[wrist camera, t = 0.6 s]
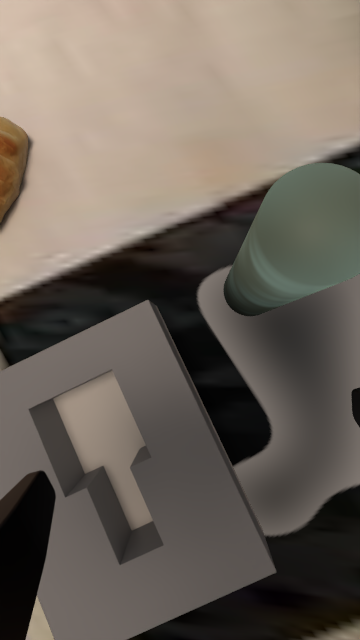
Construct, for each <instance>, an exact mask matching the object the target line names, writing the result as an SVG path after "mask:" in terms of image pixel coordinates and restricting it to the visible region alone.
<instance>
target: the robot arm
mask: <svg viewBox="0 0 360 640" xmlns="http://www.w3.org/2000/svg"><path fill="white" fill-rule="evenodd" d="M352 411H353V416H354V419H355V421H356V422H357V424H358V425H359V427H360V388H357V389H354V390H353V391H352ZM55 501H56V493H55V490H54V488H53V486H52V484H51V482H50V480H49V478H48V476H47V474H46V473H45V472H44V471H43V470H39V471H35V472H31V473H28V474H27V475H26V476H25V477H24V478H22V479H21V480H20V481H19V482H18V483H17V484H16V485H15V486H14V487H13V488H12V489H11V490H10V491H9V492H8V493H7V494H6V495H5V496H4V497H3V498H2V499H1V500H0V640H25V639H26V635H27V631H28V627H29V623H30V619H31V615H32V612H33V608H34V604H35V600H36V596H37V592H38V588H39V584H40V580H41V576H42V573H43V568H44V564H45V560H46V555H47V549H48V543H49V537H50V531H51V525H52V519H53V513H54V507H55Z"/></svg>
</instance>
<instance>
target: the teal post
mask: <svg viewBox="0 0 360 640" xmlns="http://www.w3.org/2000/svg"><path fill="white" fill-rule="evenodd" d="M358 274H360V174H358V173H357V172H355V171H353V170H351V169H349V168H346V167H344V166H341V165H336V164H330V163H315V164H308V165H304V166H301V167H298V168H296V169H294V170H292V171H290V172H288V173H286V174H285V175H284V176H282V177H281V178H280V179H279V180H278V181H277V182H276V183H275V184H274V185H273V186H272V187H271V188H270V190H269V191H268V193H267V194H266V196H265V198H264V200H263V202H262V204H261V206H260V209H259V211H258V213H257V215H256V217H255V219H254V221H253V223H252V226H251V228H250V230H249V232H248V234H247V236H246V238H245V240H244V243H243V245H242V247H241V249H240V251H239V253H238V255H237V257H236V259H235V262H234V264H233V266H232V268H231V270H230V272H229V274H228V277H227V279H226V281H225V284H224V296H225V299H226V302H227V303H228V305H229V306H230V308H231V309H232V310H234V311H235V312H237V313H239V314H241V315H244V316H255V315H259V314H262V313H265V312H267V311H269V310H272V309H275V308H277V307H280V306H282V305H285V304H287V303H290V302H292V301H295V300H298V299H300V298H302V297H305V296H308V295H310V294H313V293H315V292H318V291H320V290H323V289H326V288H328V287H331V286H333V285H336V284H338V283H341V282H343V281H346V280H348V279H351V278H353V277H355V276H356V275H358Z"/></svg>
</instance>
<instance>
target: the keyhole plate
mask: <svg viewBox="0 0 360 640" xmlns="http://www.w3.org/2000/svg"><path fill="white" fill-rule="evenodd" d="M39 470H43V471H44V472H45V473H46V474H47V476H48V478H49V480H50V482H51V484H52V486H53V488H54V490H55V493H56V501H55V507H54V513H53V519H52V525H51V531H50V537H49V543H48V549H47V555H46V560H45V564H44V568H43V573H42V576H41V580H40V584H39V588H38V592H37V596H38V599H39V601H40V604H41V606H42V609H43V611H44V614H45V616H46V619H47V622H48V624H49V627H50V629H51V632H52V634H53V637H54V639H55V640H127V639H129V638H131V637H133V636H136V635H138V634H140V633H142V632H144V631H147V630H149V629H151V628H153V627H156V626H158V625H160V624H162V623H165V622H167V621H169V620H171V619H173V618H176V617H178V616H180V615H182V614H185V613H187V612H189V611H191V610H193V609H196V608H198V607H200V606H202V605H205V604H207V603H209V602H211V601H213V600H216V599H218V598H220V597H222V596H225V595H227V594H229V593H231V592H233V591H236V590H238V589H240V588H242V587H245V586H247V585H249V584H251V583H253V582H256V581H258V580H260V579H262V578H265V577H267V576H269V575H271V574H274V573H276V569H275V566H274V563H273V560H272V557H271V554H270V551H269V548H268V545H267V542H266V539H265V536H264V533H263V530H262V528H261V525H260V523H259V521H258V519H257V517H256V515H255V513H254V511H253V509H252V506H251V504H250V503H249V500H248V498H247V496H246V494H245V492H244V489H243V487H242V485H241V483H240V481H239V479H238V477H237V475H236V473H235V470H234V468H233V466H232V464H231V462H230V460H229V458H228V456H227V454H226V451H225V449H224V447H223V445H222V443H221V441H220V439H219V437H218V435H217V432H216V430H215V428H214V426H213V424H212V422H211V420H210V418H209V416H208V413H207V411H206V409H205V407H204V405H203V403H202V401H201V399H200V396H199V394H198V392H197V390H196V388H195V386H194V384H193V382H192V380H191V377H190V375H189V373H188V371H187V369H186V367H185V365H184V363H183V361H182V358H181V356H180V354H179V352H178V350H177V348H176V346H175V344H174V342H173V339H172V337H171V335H170V333H169V331H168V329H167V327H166V325H165V323H164V320H163V318H162V316H161V314H160V312H159V310H158V308H157V306H156V305H154V304H153V303H152V302H150V301H149V300H146V301H144V302H142V303H140V304H138V305H136V306H134V307H132V308H130V309H128V310H126V311H124V312H122V313H120V314H118V315H116V316H114V317H111V318H109V319H107V320H105V321H103V322H101V323H99V324H97V325H95V326H93V327H91V328H89V329H87V330H85V331H83V332H81V333H79V334H76V335H74V336H72V337H70V338H68V339H66V340H64V341H62V342H60V343H58V344H56V345H54V346H52V347H50V348H48V349H46V350H44V351H41V352H39V353H37V354H35V355H33V356H31V357H29V358H27V359H25V360H23V361H21V362H19V363H17V364H15V365H13V366H11V367H9V368H6V369H4V370H2V371H0V500H1V499H2V498H3V497H4V496H5V495H6V494H7V493H8V492H9V491H10V490H11V489H12V488H13V487H14V486H15V485H16V484H17V483H18V482H19V481H20V480H21V479H22V478H24V477H25V476H26V475H27V474H28V473H31V472H35V471H39Z"/></svg>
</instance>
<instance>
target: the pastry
mask: <svg viewBox="0 0 360 640" xmlns="http://www.w3.org/2000/svg"><path fill="white" fill-rule="evenodd" d="M27 156H28V136H27V134H26V132H25V131H24V130H23V129H22V128H21V127H19V126H17V125H16V124H14V123H12V122H11V121H10V120H8V119H6V118H4V117H0V224H1V222H2V220H3V217H4V214H5V213H6V212H7V210H8V209H9V208H10V206H11V204H12V203H13V202H14V201H15V200H16V199H17V197H18V196H19V193H20V190H19V187H20V185H21V182H22V177H23V174H24V171H25V168H26V163H27Z"/></svg>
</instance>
